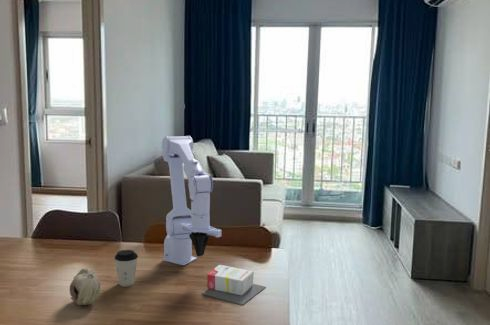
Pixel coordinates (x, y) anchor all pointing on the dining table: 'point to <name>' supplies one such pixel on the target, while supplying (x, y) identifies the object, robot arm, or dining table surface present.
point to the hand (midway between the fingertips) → (200, 255)
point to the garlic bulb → (84, 287)
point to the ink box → (230, 279)
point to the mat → (233, 297)
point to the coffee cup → (126, 267)
